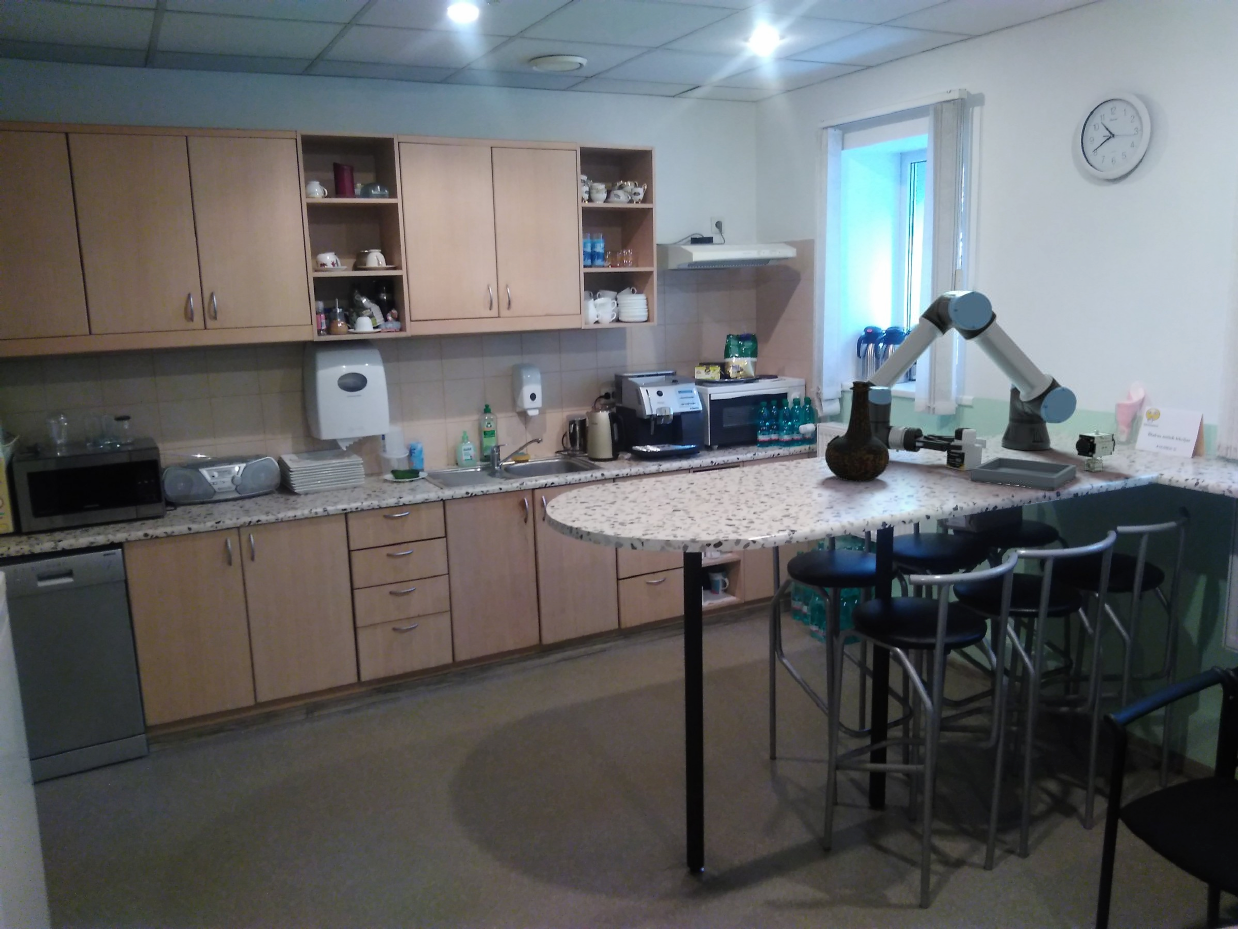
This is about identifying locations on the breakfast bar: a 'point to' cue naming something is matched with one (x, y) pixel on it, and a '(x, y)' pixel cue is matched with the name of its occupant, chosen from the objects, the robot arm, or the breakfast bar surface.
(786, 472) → the breakfast bar surface
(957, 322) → the robot arm
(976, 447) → the medicine bottle
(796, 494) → the breakfast bar surface
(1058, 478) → the tray
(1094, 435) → the pneumatic valve
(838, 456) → the glass bottle
